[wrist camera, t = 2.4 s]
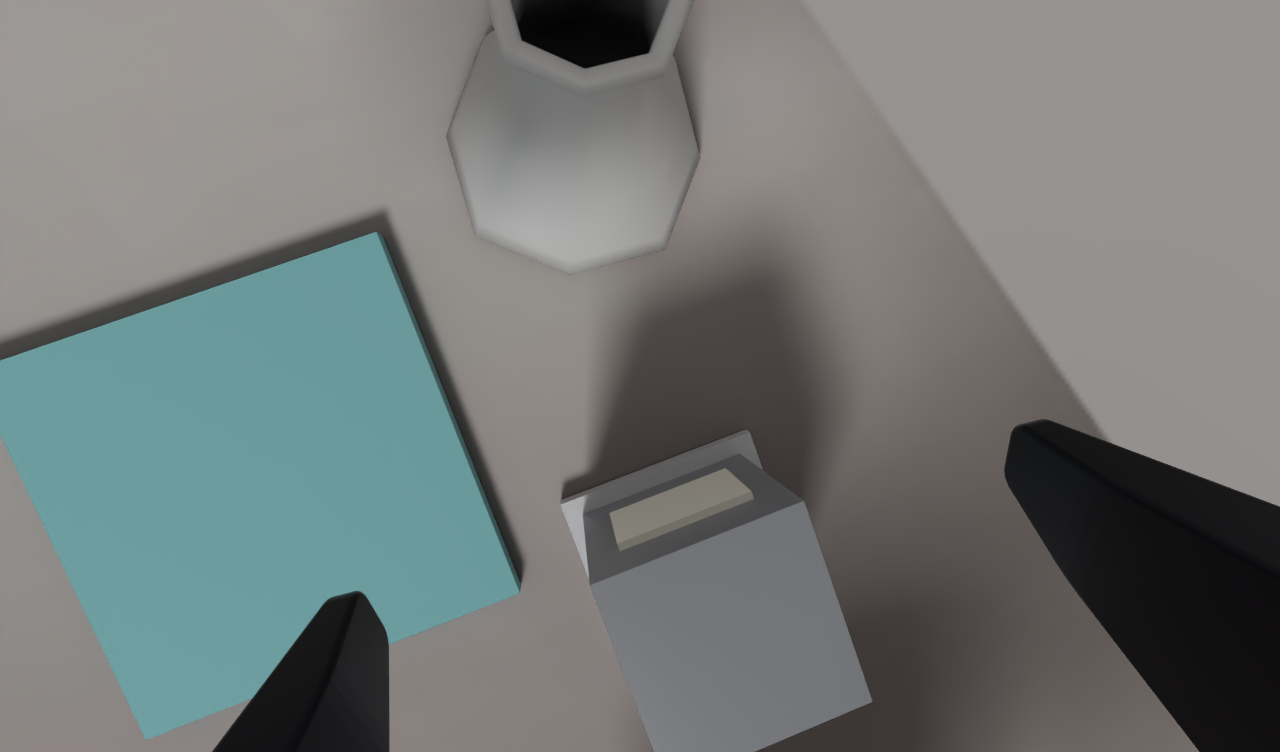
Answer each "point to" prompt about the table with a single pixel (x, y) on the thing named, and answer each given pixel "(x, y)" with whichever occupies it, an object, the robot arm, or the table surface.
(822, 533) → the table surface
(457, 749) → the table surface
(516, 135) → the flask
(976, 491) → the table surface
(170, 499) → the mat
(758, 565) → the box
